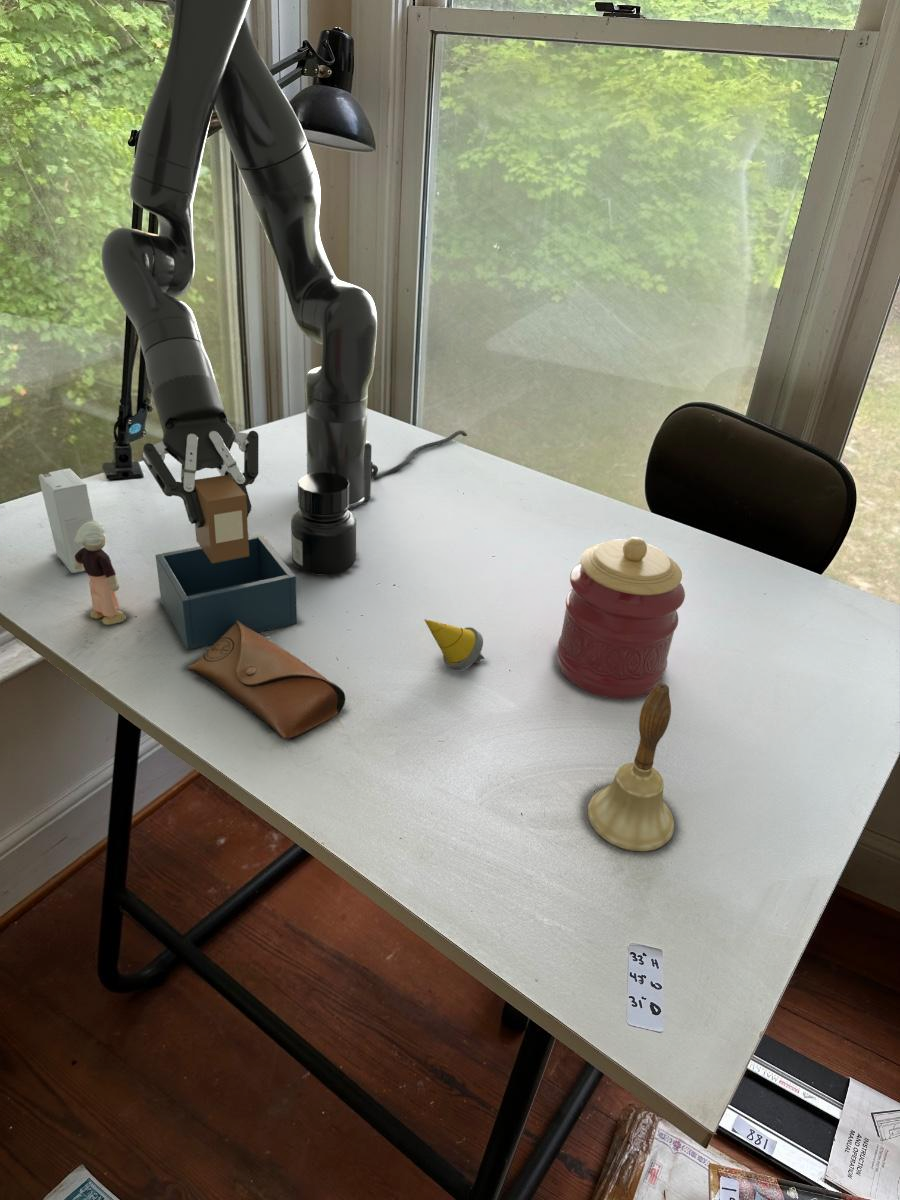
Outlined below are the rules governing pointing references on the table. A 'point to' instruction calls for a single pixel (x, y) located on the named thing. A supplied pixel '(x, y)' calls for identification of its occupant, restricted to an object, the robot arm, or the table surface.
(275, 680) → the sunglasses case
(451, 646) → the yellow spinning top
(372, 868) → the table surface
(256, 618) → the open storage box
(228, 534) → the brown packet
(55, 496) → the cosmetic box
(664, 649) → the kitchen canister
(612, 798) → the hand bell
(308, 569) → the ink bottle
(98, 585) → the grandmother figurine
